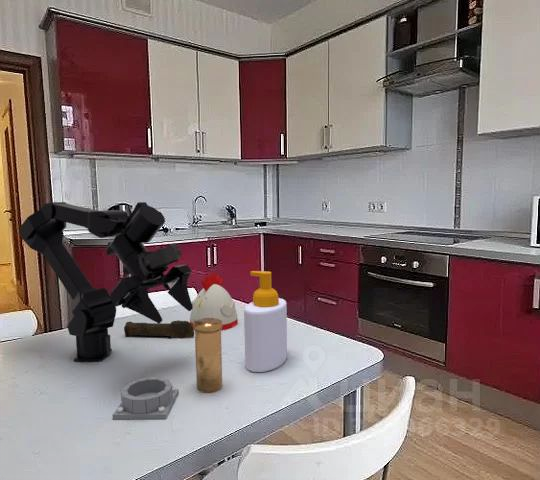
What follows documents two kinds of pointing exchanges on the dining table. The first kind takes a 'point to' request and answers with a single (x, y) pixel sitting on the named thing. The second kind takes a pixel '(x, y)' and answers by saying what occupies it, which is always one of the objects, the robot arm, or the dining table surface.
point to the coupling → (208, 354)
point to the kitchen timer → (214, 303)
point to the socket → (146, 399)
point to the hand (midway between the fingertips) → (176, 315)
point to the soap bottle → (265, 327)
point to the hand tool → (160, 329)
